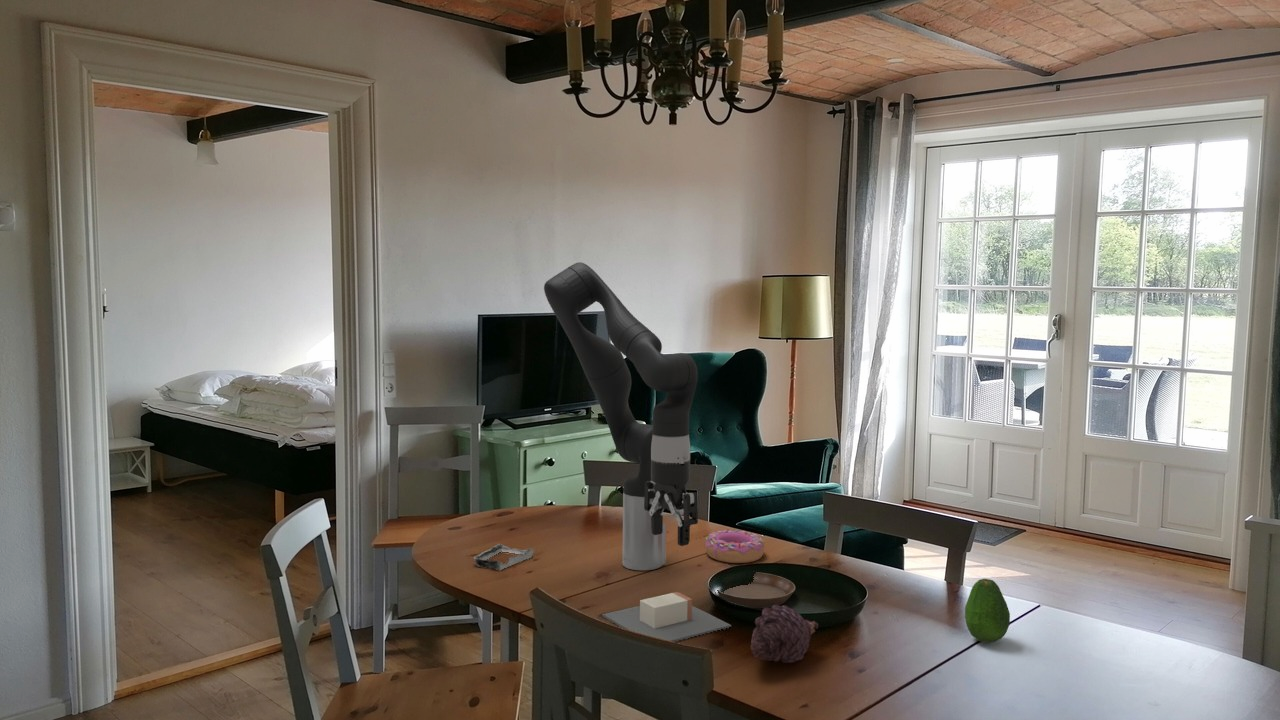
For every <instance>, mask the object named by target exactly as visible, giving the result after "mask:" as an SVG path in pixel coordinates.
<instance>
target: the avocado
mask: <svg viewBox="0 0 1280 720" xmlns="http://www.w3.org/2000/svg"><path fill="white" fill-rule="evenodd" d="M968 595H969V596H968V598H967V601H966V604H965V606H964V619H965V623H966V627H967V630H968V631H969V633H970V635H971V637H973V638H974V639H975V640H977V641H978V642H982V643H989V644H991V643H995V642H998V641H1000V640H1001V639H1002V638H1004V637H1005V635H1006V634H1007V632H1008V629H1009V627H1010V622H1011V619H1010V618H1011V616H1010V615H1011V612H1010V610H1009V607H1008V603H1007V602H1006V600H1005V597H1004V595H1003V593H1002V591H1001V589H1000V587H999V584H998V583H996V582H995V581H994V580H993V579H990V578H981V579H978V580H977V581H976V582H975V583H974V584H973V585H972V587H971V590H970V593H969V594H968Z"/></svg>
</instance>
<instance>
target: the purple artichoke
mask: <svg viewBox="0 0 1280 720" xmlns="http://www.w3.org/2000/svg"><path fill="white" fill-rule="evenodd" d="M754 624H755V627H754V628H753V631H752V635H751V640H750V641H751V643H750V649H751V652H752V655H754V658H755V659H759V660H765V661H773V662H778V661H781V662H782V663H784V664H786V663H791V664H792V663H795V662H796V661H799V660H800V661H801V660H803V659H804V657H805V654H806V653H807V651H808V648H809V647H810V640H811V638H812V635H813V634H814V633H815V632H816V630H817V629H818V628H819V623H818V622H816V620H813V621H810V620H808V619H804V617H803V616H802V615H801V614H800V613H799V612H798V611H796V609H794V608H791V607H790V606H788V605H783V604H782V605H773V606H772V607H769V608H762V610H761V615H760V616H758V617H756V618H755V620H754Z"/></svg>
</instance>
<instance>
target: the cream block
mask: <svg viewBox="0 0 1280 720" xmlns="http://www.w3.org/2000/svg"><path fill="white" fill-rule="evenodd" d="M639 606H640V621H642V622H644V623H646V624H647V625H649V626H651V627H653V628H659V627H663V626H667V625H671V624H675V623H679V622H683V621H686V620H690V619H692V606H693V598H690V597H689V596H687V595H685V594H683V593H681V592H679V591H675V592H670V593H665V594H663V595H658V596H653V597H648V598H644V599H640V600H639Z"/></svg>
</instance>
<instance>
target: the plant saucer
mask: <svg viewBox="0 0 1280 720" xmlns="http://www.w3.org/2000/svg"><path fill="white" fill-rule="evenodd" d="M753 577H754V578H753V579H754V580H753V582H751V584H750V583H749V584H748V585H740V586H736V587H733V588H729V589H727V590H725V591H724V593H723V592H721V591H719V590H717V591H718V593H719V595H720V596H721V597H722V598H724V599H726V600H727V601H730V602H733V603H736V604H739V605H744V606H747V607H751V608H750V609H764V608H772V606H773V605H779V606H782V605H783V604H784V603H785V602H786V601H788V599H789V598H790V597H791V596H792V595H793V593H794V592H795V591H796V585H795V584H794V582H792V581H791V580H789V579H787V578H785V577H783V576H779V575H776V574H772V573H766V572H759V571H758V572H757V571H756V573H755V574H754V576H753Z"/></svg>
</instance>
